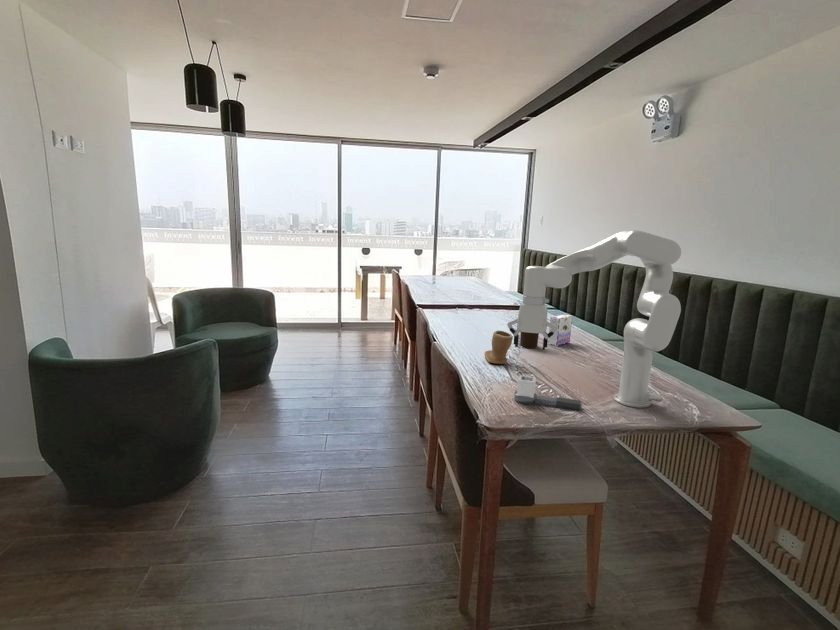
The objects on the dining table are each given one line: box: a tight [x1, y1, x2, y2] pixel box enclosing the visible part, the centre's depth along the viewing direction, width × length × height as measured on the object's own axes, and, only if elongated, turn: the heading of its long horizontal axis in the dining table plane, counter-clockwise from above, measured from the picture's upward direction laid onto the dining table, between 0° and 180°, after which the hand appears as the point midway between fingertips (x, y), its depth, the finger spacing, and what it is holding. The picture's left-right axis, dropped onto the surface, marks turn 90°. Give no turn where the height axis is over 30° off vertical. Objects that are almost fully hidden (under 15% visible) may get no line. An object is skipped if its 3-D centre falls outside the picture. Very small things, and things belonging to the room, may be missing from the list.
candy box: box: [547, 314, 573, 347], centre depth 242 cm, size 14×6×16 cm, turn 130°
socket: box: [516, 374, 537, 398], centre depth 155 cm, size 6×6×6 cm
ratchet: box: [513, 390, 583, 411], centre depth 153 cm, size 24×8×6 cm, turn 71°
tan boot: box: [484, 330, 514, 365], centre depth 204 cm, size 15×12×15 cm
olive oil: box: [519, 332, 540, 349], centre depth 233 cm, size 11×11×25 cm
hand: (530, 347), depth 153 cm, fingers open, 9 cm apart
